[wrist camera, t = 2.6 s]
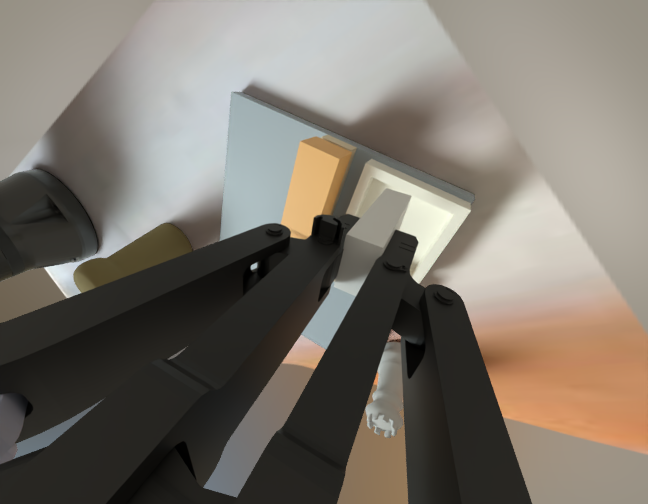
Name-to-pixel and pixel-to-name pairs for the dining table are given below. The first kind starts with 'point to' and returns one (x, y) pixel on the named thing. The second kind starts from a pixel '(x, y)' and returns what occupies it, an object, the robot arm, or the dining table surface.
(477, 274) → the dining table surface
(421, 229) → the socket
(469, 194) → the base plate with blocks
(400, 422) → the rook chess piece
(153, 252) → the brown pawn piece
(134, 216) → the dining table surface
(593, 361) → the dining table surface
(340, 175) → the hinged leg
